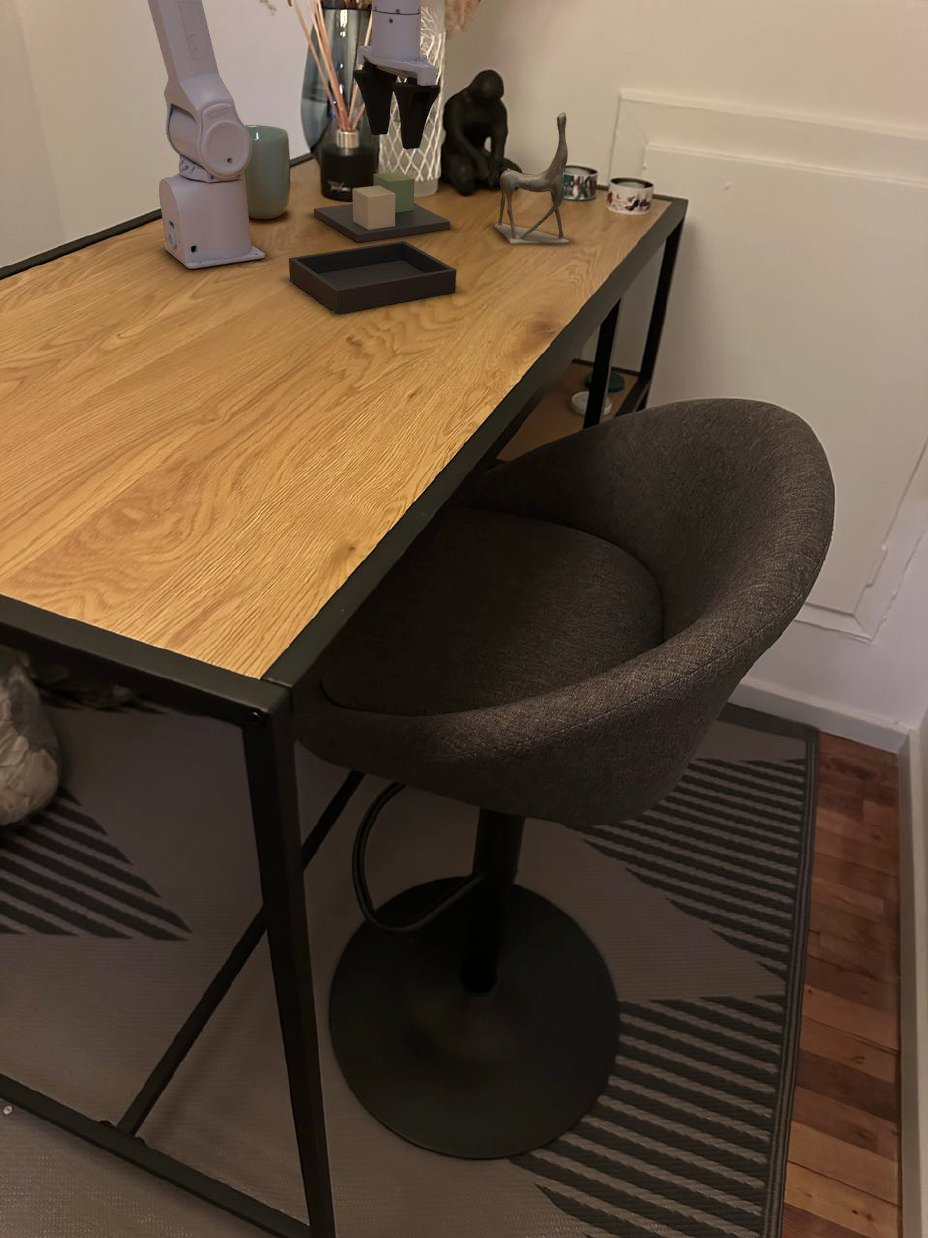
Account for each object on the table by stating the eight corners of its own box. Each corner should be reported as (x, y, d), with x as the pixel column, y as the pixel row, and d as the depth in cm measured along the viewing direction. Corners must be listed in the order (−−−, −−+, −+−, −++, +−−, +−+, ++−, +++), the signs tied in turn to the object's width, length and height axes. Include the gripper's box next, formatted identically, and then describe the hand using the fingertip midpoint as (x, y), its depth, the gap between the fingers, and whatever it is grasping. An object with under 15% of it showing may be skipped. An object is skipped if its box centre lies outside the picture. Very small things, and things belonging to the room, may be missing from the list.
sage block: (388, 213, 121) (388, 181, 118) (373, 205, 123) (373, 173, 121) (413, 210, 123) (414, 178, 120) (398, 202, 125) (398, 170, 123)
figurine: (475, 233, 120) (483, 105, 110) (500, 223, 124) (510, 99, 114) (547, 253, 115) (562, 121, 106) (571, 241, 120) (587, 113, 110)
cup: (222, 218, 118) (213, 133, 112) (250, 203, 124) (243, 121, 118) (276, 227, 117) (270, 141, 110) (302, 211, 123) (298, 129, 116)
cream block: (368, 230, 115) (368, 196, 113) (352, 221, 118) (352, 188, 115) (395, 226, 117) (395, 193, 114) (379, 217, 119) (379, 185, 117)
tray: (337, 314, 96) (336, 290, 94) (289, 280, 103) (288, 257, 101) (455, 292, 103) (456, 269, 101) (403, 261, 110) (404, 240, 108)
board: (358, 242, 114) (357, 234, 113) (313, 216, 121) (313, 208, 121) (450, 228, 121) (450, 221, 120) (402, 204, 128) (402, 197, 127)
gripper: (460, 19, 102) (453, 151, 111) (393, 2, 111) (392, 126, 120) (407, 20, 99) (405, 156, 107) (342, 2, 108) (345, 129, 116)
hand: (394, 140), depth 113 cm, fingers open, 7 cm apart
